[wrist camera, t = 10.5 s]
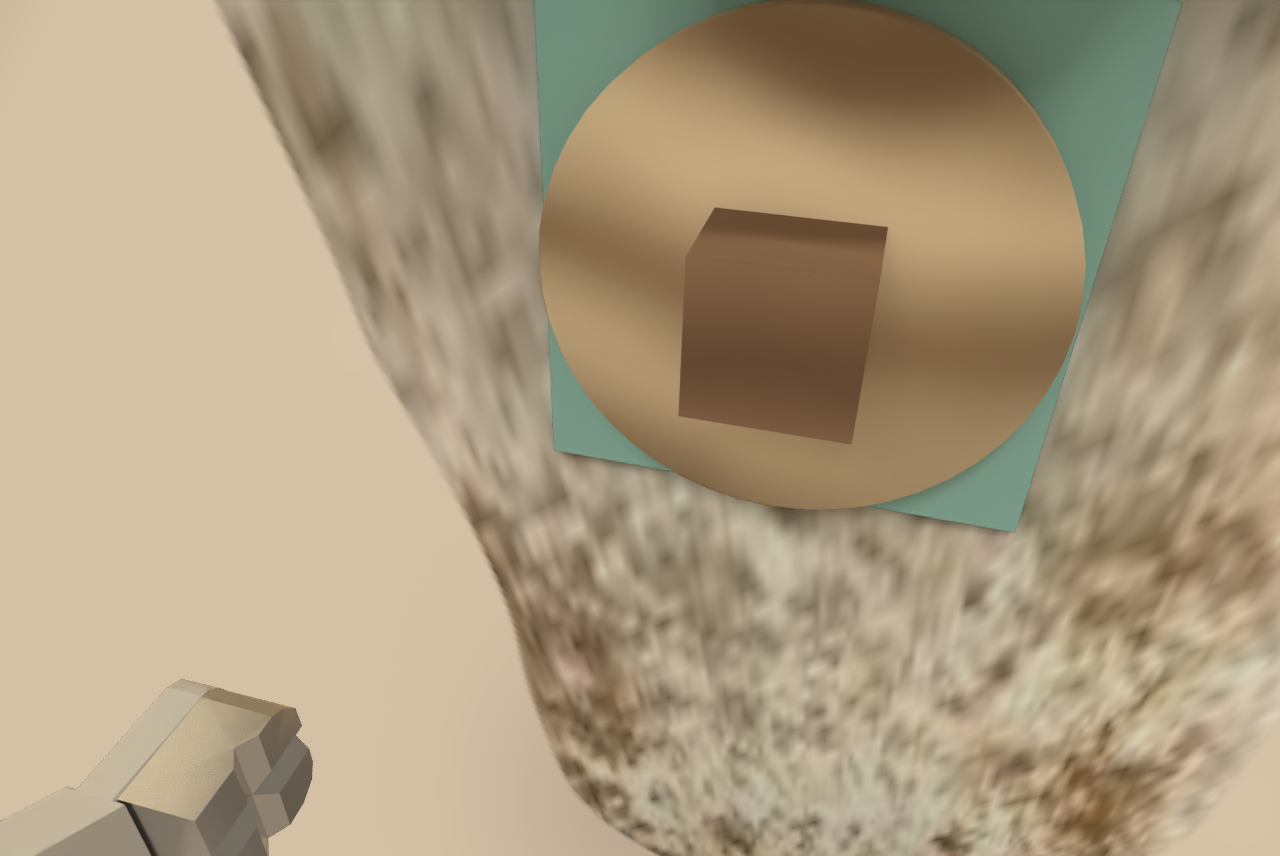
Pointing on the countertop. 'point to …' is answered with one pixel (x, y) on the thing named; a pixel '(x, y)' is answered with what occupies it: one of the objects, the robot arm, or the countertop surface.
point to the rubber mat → (1008, 36)
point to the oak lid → (813, 254)
